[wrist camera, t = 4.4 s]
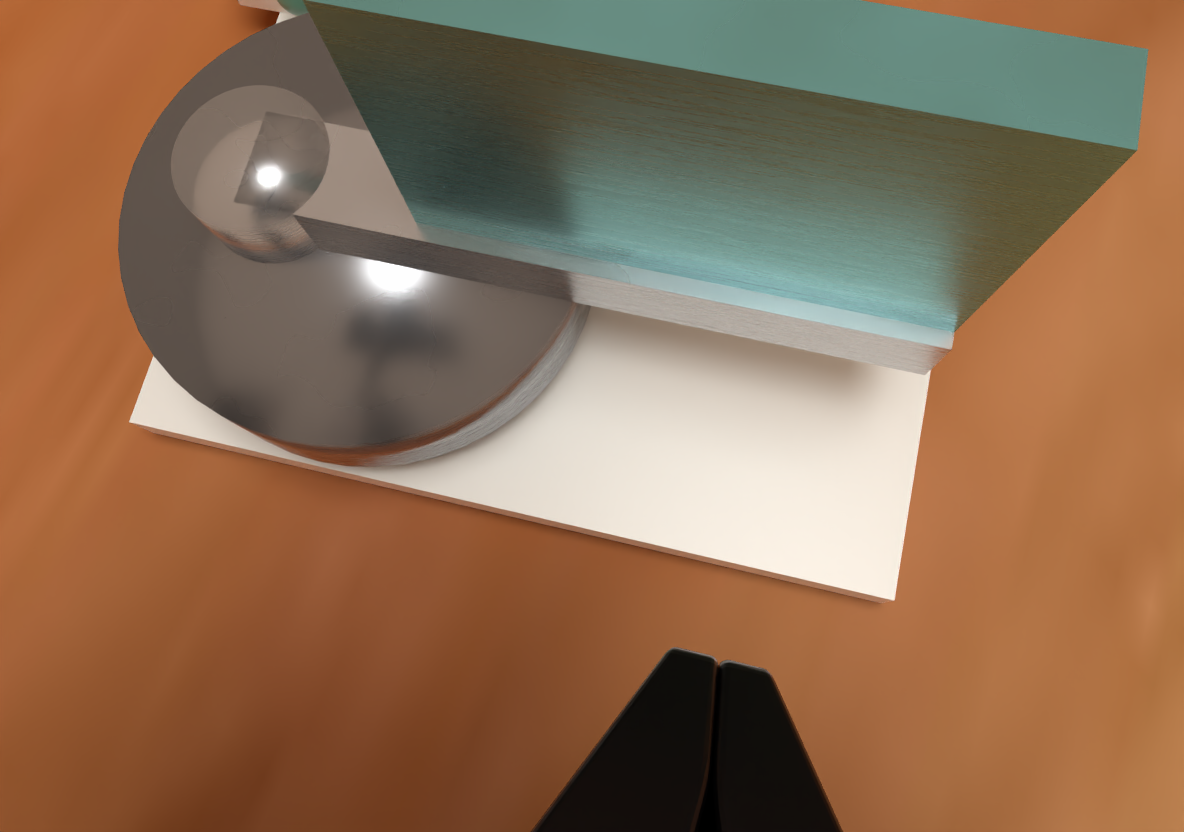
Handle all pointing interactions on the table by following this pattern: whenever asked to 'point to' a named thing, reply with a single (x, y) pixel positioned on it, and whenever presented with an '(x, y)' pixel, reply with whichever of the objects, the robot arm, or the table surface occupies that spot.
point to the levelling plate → (669, 449)
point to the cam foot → (590, 196)
